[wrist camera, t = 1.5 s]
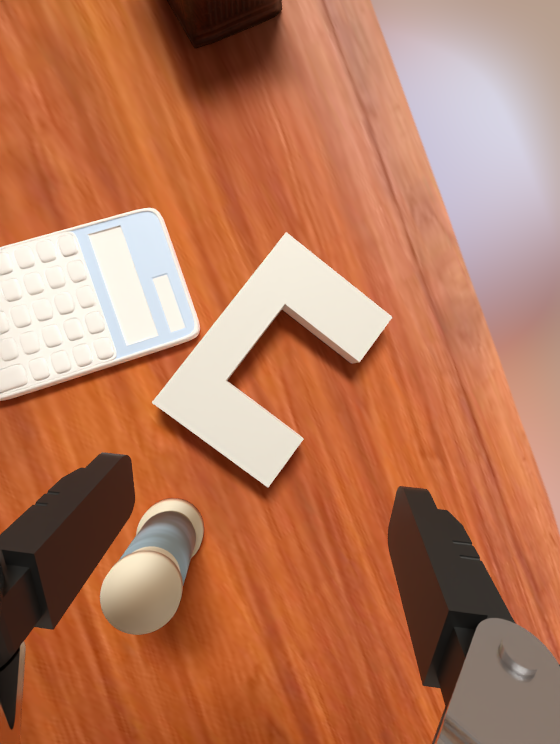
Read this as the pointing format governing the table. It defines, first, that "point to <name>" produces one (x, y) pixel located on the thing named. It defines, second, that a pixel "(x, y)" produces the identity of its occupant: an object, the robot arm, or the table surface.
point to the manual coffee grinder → (221, 17)
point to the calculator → (89, 301)
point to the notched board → (238, 336)
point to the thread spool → (153, 568)
